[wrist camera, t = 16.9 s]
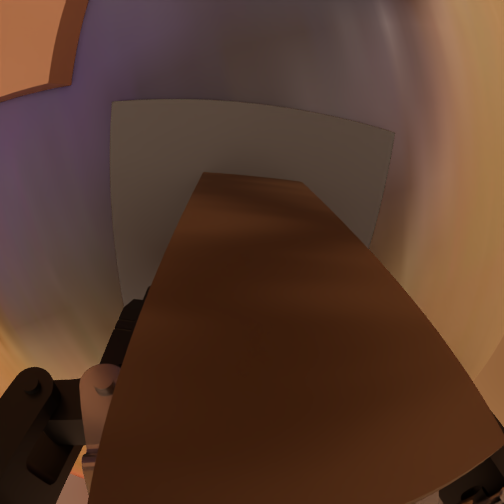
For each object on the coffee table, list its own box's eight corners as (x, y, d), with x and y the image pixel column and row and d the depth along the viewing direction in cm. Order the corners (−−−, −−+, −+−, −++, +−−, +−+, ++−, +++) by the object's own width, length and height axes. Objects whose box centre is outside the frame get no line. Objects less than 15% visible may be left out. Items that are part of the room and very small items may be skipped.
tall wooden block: (301, 181, 11) (508, 441, 1) (272, 330, 15) (311, 538, 5) (203, 172, 11) (86, 514, 1) (197, 327, 14) (184, 543, 4)
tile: (76, 85, 9) (119, -67, 5) (48, 83, 7) (105, -86, 3) (-28, 113, 8) (4, -20, 4) (-53, 119, 6) (-16, -27, 2)
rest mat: (388, 131, 11) (395, 132, 10) (324, 358, 17) (326, 364, 16) (117, 102, 9) (112, 101, 9) (137, 350, 16) (135, 357, 15)
